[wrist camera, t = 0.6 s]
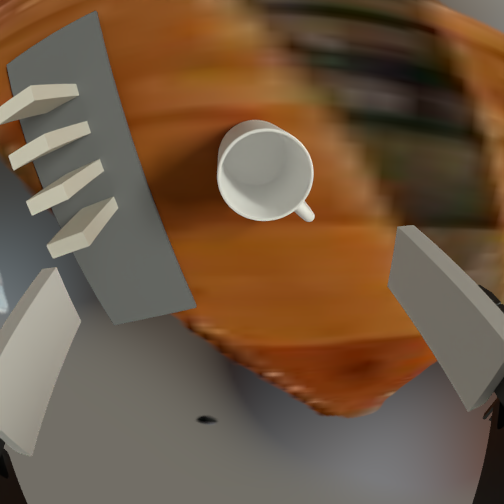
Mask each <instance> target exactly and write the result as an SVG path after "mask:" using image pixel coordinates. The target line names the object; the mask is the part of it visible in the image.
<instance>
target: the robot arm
mask: <svg viewBox="0 0 504 504" xmlns="http://www.w3.org/2000/svg"><path fill="white" fill-rule="evenodd" d="M388 287H389V289H390V290H391V292H392V293H393V294H394V296H395V297H396V299H397V300H398V301H399V303H400V304H401V306H402V307H403V309H404V310H405V311H406V313H407V314H408V316H409V317H410V319H411V320H412V322H413V323H414V325H415V326H416V328H417V329H418V331H419V332H420V334H421V335H422V337H423V338H424V340H425V341H426V343H427V344H428V346H429V348H430V349H431V351H432V352H433V354H434V355H435V357H436V359H437V360H438V362H439V363H440V365H441V367H442V368H443V370H444V371H445V373H446V375H447V376H448V378H449V379H450V381H451V383H452V385H453V387H454V388H455V390H456V391H457V393H458V395H459V397H460V399H461V400H462V402H463V404H464V405H465V407H466V409H467V411H468V412H469V411H471V410H473V409H475V408H477V407H479V406H481V405H483V404H485V403H486V401H487V400H488V399H489V397H490V396H491V395H492V393H493V392H495V393H496V395H497V399H496V400H495V401H494V402H493V404H492V405H491V406H490V407H489V409H488V410H487V411H486V412H485V414H484V416H483V419H486V418H487V417H488V415H489V414H490V413H491V412H492V411H493V413H492V416H491V418H490V419H489V420H490V421H491V427H490V433H489V439H488V444H487V450H486V455H485V459H484V464H483V468H482V472H481V476H480V480H479V483H478V487H477V490H476V494H475V497H474V500H473V504H504V305H503V304H501V302H500V301H499V300H498V299H497V298H496V296H495V295H494V294H493V293H492V292H490V291H489V290H487V289H485V288H484V287H482V286H481V285H477V284H476V283H475V282H474V281H473V280H472V279H471V278H470V277H469V276H468V275H467V274H466V273H465V272H464V271H463V270H462V269H461V268H460V267H459V266H458V265H457V264H456V263H455V262H454V261H453V260H452V259H451V258H449V257H448V256H447V255H446V254H445V253H444V252H443V251H442V250H441V249H440V248H439V247H438V246H437V245H435V244H434V243H433V242H432V241H431V240H430V239H429V238H428V237H427V236H425V235H424V234H423V233H422V232H421V231H420V230H419V229H417V228H416V227H415V226H414V225H410V226H400V227H397V234H396V240H395V247H394V253H393V259H392V265H391V270H390V276H389V281H388ZM80 322H81V320H80V318H79V316H78V314H77V312H76V310H75V308H74V306H73V303H72V302H71V299H70V297H69V295H68V293H67V290H66V288H65V286H64V284H63V282H62V279H61V277H60V275H59V272H58V270H57V267H54V268H47V269H42V270H41V272H40V273H39V274H38V276H37V277H36V278H35V280H34V281H33V282H32V284H31V285H30V286H29V288H28V289H27V291H26V292H25V293H24V295H23V296H22V298H21V299H20V301H19V302H18V303H17V305H16V306H15V308H14V309H13V311H12V312H11V314H10V315H9V317H8V318H7V320H6V321H5V323H4V325H3V326H2V328H1V329H0V504H27V502H26V499H25V497H24V495H23V492H22V490H21V487H20V485H19V482H18V479H17V477H16V474H15V471H14V469H13V466H12V462H11V460H10V457H9V454H8V452H7V451H6V450H5V449H4V445H5V443H6V444H7V445H8V446H10V447H11V448H12V449H13V450H14V451H16V452H18V453H21V454H25V455H28V456H32V455H33V451H34V447H35V444H36V440H37V437H38V433H39V430H40V427H41V424H42V420H43V417H44V414H45V411H46V408H47V405H48V402H49V400H50V397H51V394H52V391H53V388H54V386H55V383H56V380H57V377H58V375H59V372H60V370H61V367H62V365H63V362H64V360H65V357H66V355H67V352H68V350H69V348H70V345H71V343H72V341H73V338H74V336H75V334H76V331H77V329H78V327H79V325H80Z"/></svg>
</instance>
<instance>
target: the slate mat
mask: <svg viewBox="0 0 504 504" xmlns="http://www.w3.org/2000/svg"><path fill="white" fill-rule="evenodd" d="M7 70H8V75H9V80H10V84H11V89H12V93H13V97H14V96H16V95H17V94H19V93H20V92H21V91H23V90H24V89H26V88H27V87H29V86H30V85H46V84H76V85H77V89H78V92H79V96H77V97H75V98H73V99H71V100H70V101H68V102H66V103H64V104H62V105H60V106H58V107H57V108H55V109H53V110H51V111H50V112H48V113H45V114H40V115H36V116H31V117H27V118H23V119H20V123H21V126H22V130H23V133H24V136H25V139H26V142H27V144H28V143H29V142H31V141H33V140H34V139H36V138H38V137H40V136H41V135H43V134H45V133H48V132H51V131H54V130H57V129H61V128H64V127H67V126H71V125H74V124H78V123H81V122H85V121H87V123H88V126H89V129H90V132H91V133H90V134H88V135H86V136H83V137H81V138H79V139H77V140H75V141H73V142H71V143H69V144H67V145H65V146H63V147H61V148H59V149H57V150H55V151H52V152H50V153H48V154H46V155H44V156H42V157H39V158H37V159H35V160H33V163H34V166H35V168H36V171H37V174H38V176H39V179H40V181H41V184H42V187H43V189H44V188H46V187H47V186H49V185H50V184H52V183H53V182H55V181H56V180H58V179H59V178H61V177H62V176H64V175H65V174H67V173H69V172H71V171H73V170H76V169H78V168H80V167H82V166H84V165H87V164H89V163H91V162H94V161H96V160H98V159H100V161H101V164H102V167H103V169H104V171H103V172H102V173H101V174H99V175H98V176H97V177H96V178H94V179H93V180H92V181H90V182H89V183H88V184H87V185H85V186H84V187H83V188H82V189H80V190H79V191H78V192H77V193H75V194H74V195H73V196H72V197H71V198H69V199H68V200H66V201H63V202H61V203H59V204H56V205H54V206H52V207H51V208H52V210H53V213H54V215H55V217H56V219H57V221H58V223H59V226H60V228H61V229H62V228H63V227H64V226H65V225H66V224H67V223H68V222H69V221H70V220H71V219H72V218H73V217H74V216H75V215H76V214H77V213H78V212H79V211H80V210H81V209H82V208H84V207H87V206H90V205H92V204H95V203H97V202H100V201H103V200H105V199H108V198H111V197H113V196H114V198H115V201H116V203H117V206H118V209H117V210H116V212H115V213H114V214H113V216H112V217H111V218H110V219H109V221H108V222H107V223H106V225H105V226H104V227H103V229H102V230H101V231H100V233H99V234H98V235H97V237H96V238H95V239H94V241H93V242H92V243H91V245H90V246H88V247H85V248H82V249H79V250H76V251H74V252H72V253H73V255H74V256H75V258H76V260H77V262H78V264H79V266H80V268H81V270H82V271H83V273H84V275H85V277H86V279H87V281H88V283H89V284H90V286H91V288H92V289H93V291H94V293H95V295H96V296H97V298H98V300H99V301H100V303H101V305H102V307H103V308H104V310H105V311H106V313H107V315H108V316H109V318H110V320H111V321H112V323H113V324H114V325H118V324H122V323H127V322H132V321H137V320H141V319H147V318H151V317H156V316H161V315H165V314H170V313H174V312H179V311H183V310H188V309H192V308H196V303H195V301H194V298H193V296H192V294H191V292H190V289H189V287H188V285H187V282H186V280H185V278H184V275H183V273H182V271H181V268H180V266H179V263H178V261H177V259H176V256H175V254H174V251H173V249H172V246H171V244H170V241H169V239H168V236H167V234H166V231H165V229H164V226H163V224H162V221H161V218H160V216H159V213H158V211H157V208H156V205H155V203H154V200H153V197H152V194H151V192H150V189H149V186H148V183H147V181H146V178H145V175H144V172H143V169H142V166H141V164H140V161H139V158H138V155H137V152H136V149H135V146H134V143H133V140H132V137H131V134H130V131H129V127H128V124H127V121H126V118H125V115H124V112H123V108H122V105H121V102H120V98H119V95H118V91H117V88H116V84H115V81H114V77H113V74H112V70H111V66H110V63H109V59H108V55H107V51H106V47H105V43H104V39H103V35H102V31H101V27H100V23H99V18H98V14H97V12H96V11H94V12H92V13H90V14H88V15H86V16H84V17H82V18H80V19H78V20H76V21H74V22H72V23H71V24H69V25H67V26H65V27H63V28H62V29H60V30H58V31H56V32H55V33H53V34H51V35H50V36H48V37H47V38H45V39H43V40H42V41H40V42H39V43H37V44H36V45H34V46H33V47H31V48H30V49H28V50H27V51H25V52H24V53H22V54H21V55H19V56H18V57H17V58H15V59H14V60H13V61H11V62H10V63H9V64H7Z"/></svg>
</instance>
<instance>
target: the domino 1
mask: <svg viewBox="0 0 504 504" xmlns="http://www.w3.org/2000/svg"><path fill="white" fill-rule="evenodd" d="M77 96H79V92H78V89H77V85H76V84H46V85H30V86H29V87H27V88H26V89H24V90H23V91H21V92H20V93H19V94H17V95H16V96H14V97H13V98H12V99H10V100H9V101H7V102H6V103H5V104H3V105H2V106H1V107H0V125H1V124H4V123H8V122H11V121H15V120H19V119H23V118H27V117H31V116H36V115H40V114H45V113H48V112H50V111H51V110H53V109H55V108H57V107H58V106H60V105H62V104H64V103H66V102H68V101H70V100H71V99H73V98H75V97H77Z"/></svg>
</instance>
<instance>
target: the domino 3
mask: <svg viewBox="0 0 504 504" xmlns="http://www.w3.org/2000/svg"><path fill="white" fill-rule="evenodd" d="M103 171H104V169H103V167H102V164H101V161H100V159H98V160H96V161H94V162H91V163H89V164H87V165H84V166H82V167H80V168H78V169H76V170H73V171H71V172H69V173H67V174H65V175H64V176H62V177H61V178H59V179H58V180H56V181H55V182H53V183H52V184H50V185H49V186H47V187H46V188H44V189H43V190H41V191H40V192H38V193H37V194H36V195H34V196H33V197H31V198H30V199H29V200H27V201H26V203H27V206H28V208H29V210H30V212H31V215H32V216H33V215H35V214H37V213H39V212H41V211H43V210H46V209H48V208H50V207H52V206H54V205H56V204H59V203H61V202H63V201H66V200H68V199H69V198H71V197H72V196H73V195H74V194H75V193H77V192H78V191H79V190H80V189H82V188H83V187H84V186H85V185H87V184H88V183H89V182H90V181H92V180H93V179H94V178H96V177H97V176H98V175H99V174H101V173H102V172H103Z"/></svg>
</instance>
